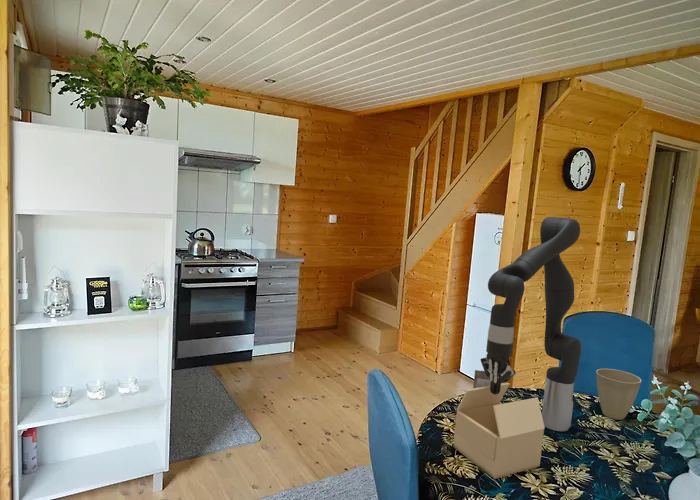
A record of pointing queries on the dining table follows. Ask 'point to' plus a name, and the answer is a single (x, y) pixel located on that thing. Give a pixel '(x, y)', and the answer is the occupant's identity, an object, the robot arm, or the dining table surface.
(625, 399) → the plant pot
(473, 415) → the carton
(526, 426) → the flap
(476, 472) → the dining table surface
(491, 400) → the flap
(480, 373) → the coffee box
